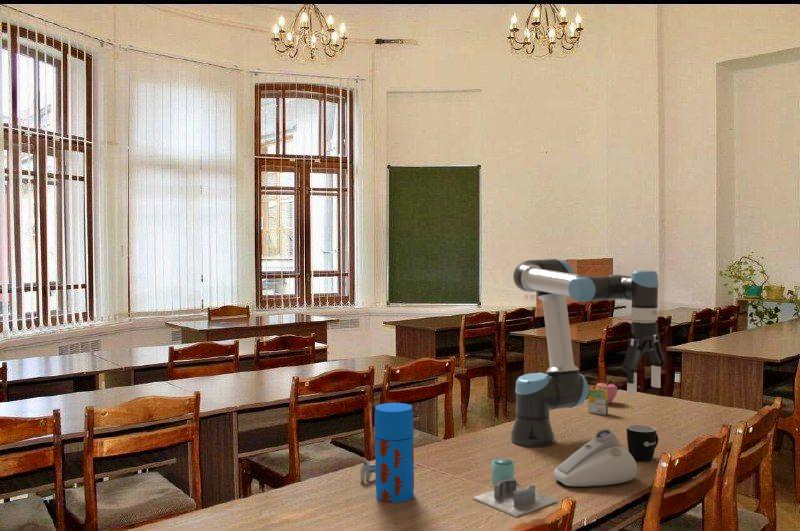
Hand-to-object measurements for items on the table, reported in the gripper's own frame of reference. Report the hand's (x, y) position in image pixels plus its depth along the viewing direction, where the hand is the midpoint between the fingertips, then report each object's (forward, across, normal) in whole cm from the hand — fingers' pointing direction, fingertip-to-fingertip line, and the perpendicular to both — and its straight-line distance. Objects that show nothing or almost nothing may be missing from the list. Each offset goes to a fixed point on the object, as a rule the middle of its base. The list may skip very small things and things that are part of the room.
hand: (644, 390), depth 208 cm
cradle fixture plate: (+25, -48, +10) cm, 55 cm away
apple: (+26, +67, +57) cm, 92 cm away
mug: (+25, +11, +6) cm, 28 cm away
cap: (+25, -39, +22) cm, 52 cm away
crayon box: (+26, +50, +50) cm, 75 cm away
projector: (+25, -18, +6) cm, 32 cm away
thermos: (+25, -70, +35) cm, 82 cm away
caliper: (+26, -60, +50) cm, 82 cm away
